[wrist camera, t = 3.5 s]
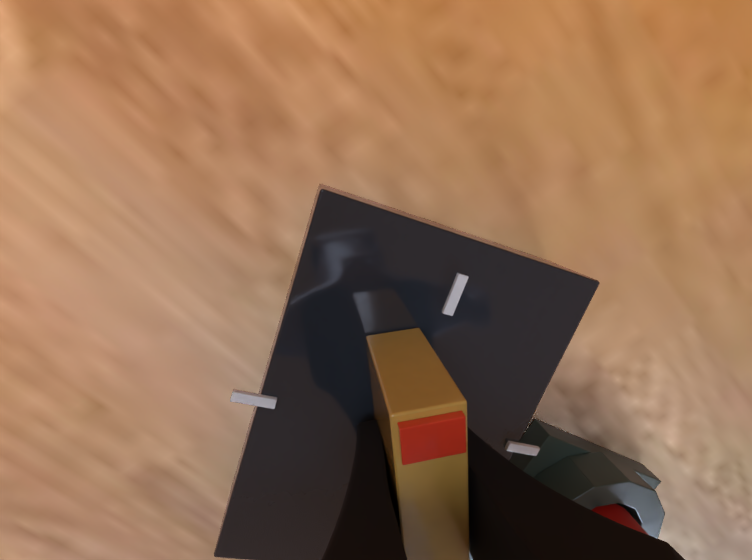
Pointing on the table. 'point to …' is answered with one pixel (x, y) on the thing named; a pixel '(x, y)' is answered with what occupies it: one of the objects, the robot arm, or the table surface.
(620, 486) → the button box
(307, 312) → the block
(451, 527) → the gold rectangular bar
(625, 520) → the button
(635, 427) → the table surface
